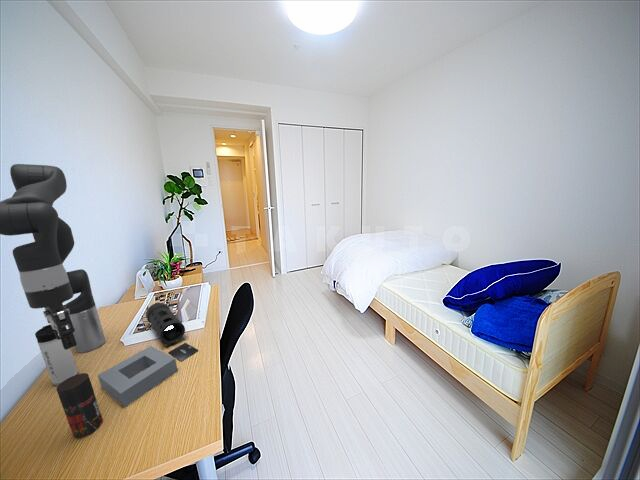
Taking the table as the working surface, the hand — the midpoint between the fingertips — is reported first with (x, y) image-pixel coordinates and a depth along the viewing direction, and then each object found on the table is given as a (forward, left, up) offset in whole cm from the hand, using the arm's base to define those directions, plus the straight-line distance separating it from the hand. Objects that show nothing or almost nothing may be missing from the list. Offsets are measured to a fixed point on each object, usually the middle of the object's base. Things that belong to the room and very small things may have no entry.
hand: (66, 342), depth 62 cm
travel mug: (-28, +2, -25) cm, 38 cm away
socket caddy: (-3, +14, -25) cm, 29 cm away
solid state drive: (-3, +29, -25) cm, 39 cm away
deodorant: (+3, -2, -25) cm, 25 cm away
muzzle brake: (-24, +34, -25) cm, 49 cm away
